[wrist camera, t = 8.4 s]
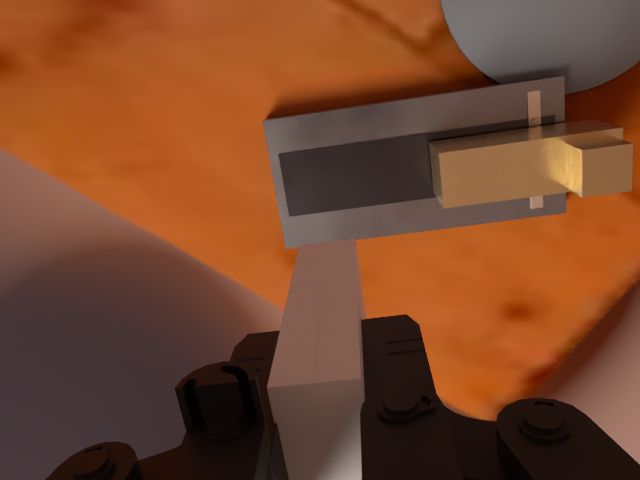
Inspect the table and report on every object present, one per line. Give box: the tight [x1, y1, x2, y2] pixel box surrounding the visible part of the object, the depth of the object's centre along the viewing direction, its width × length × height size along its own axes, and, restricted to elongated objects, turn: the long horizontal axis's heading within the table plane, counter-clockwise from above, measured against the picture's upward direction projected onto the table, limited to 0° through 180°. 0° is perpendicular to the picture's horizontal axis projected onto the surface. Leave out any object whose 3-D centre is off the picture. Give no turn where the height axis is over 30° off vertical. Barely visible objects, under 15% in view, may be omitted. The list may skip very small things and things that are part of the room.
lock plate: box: [263, 75, 566, 249], centre depth 30 cm, size 7×15×1 cm, turn 99°
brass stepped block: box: [429, 119, 633, 209], centre depth 26 cm, size 3×8×5 cm, turn 98°
